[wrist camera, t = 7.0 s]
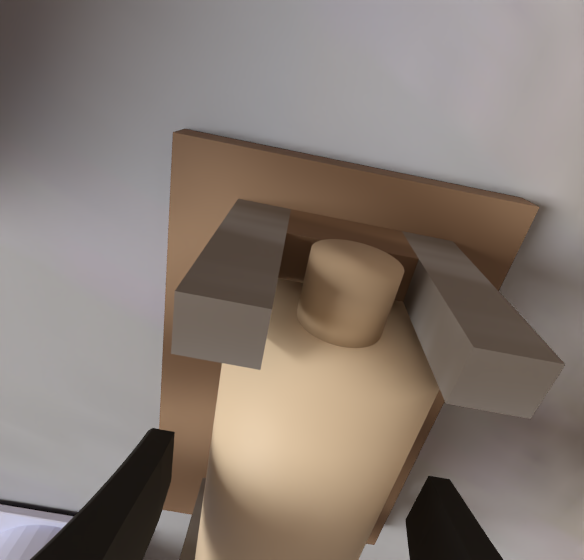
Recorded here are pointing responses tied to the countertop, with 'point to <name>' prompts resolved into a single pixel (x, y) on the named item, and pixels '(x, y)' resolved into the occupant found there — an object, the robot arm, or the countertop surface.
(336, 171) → the holder
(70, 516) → the robot arm
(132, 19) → the countertop surface
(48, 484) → the countertop surface
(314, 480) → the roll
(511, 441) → the countertop surface
